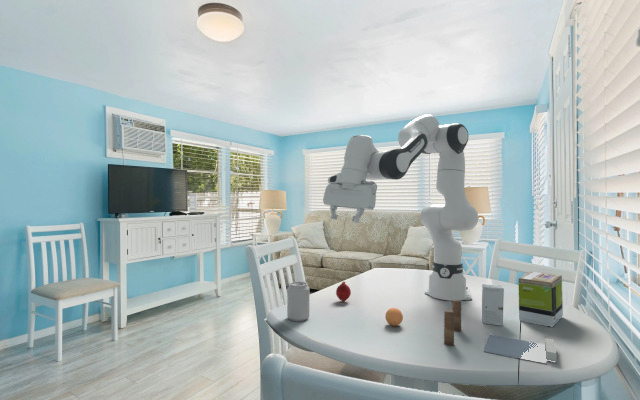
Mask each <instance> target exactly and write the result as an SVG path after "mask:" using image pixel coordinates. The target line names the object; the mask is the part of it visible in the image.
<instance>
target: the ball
mask: <svg viewBox="0 0 640 400" xmlns="http://www.w3.org/2000/svg"><path fill="white" fill-rule="evenodd" d="M403 319H404V316H403V313H402V311H401V310H400V309H399V308H398V307H397V308H396V307H391V308H389V309H387V311H386V312H385V320H386V322H387V323H388V324H389V325H390V326H392V327H397V326H399V325H400V324H402V323H403Z"/></svg>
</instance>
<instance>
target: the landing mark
mask: <svg viewBox="0 0 640 400" xmlns="http://www.w3.org/2000/svg"><path fill="white" fill-rule="evenodd" d="M529 341H530V340H529ZM529 341H528V340H525V339H523V340H522V339H517V338H511V337H507V336H501V335H495V334H490V333H489V334H488V336H487V340H486V344H485V347H484V351H483V352H484V353H488V354H493V355H497V356H502V355H503V356H502V357H507V356H508V357H507V358H511V357H514V358H513V359H516V358H519V357H520V358H521V357H522V356H521V355H523V352H524V353H525V352H526V351H527V350H528V352H529V348H530V349H531V347H533V346H534V345H535V344H536V343H537V342H536V343H534V341H532V342H533V343H532V344H531V343H529ZM530 344H531V345H530ZM533 344H534V345H533ZM529 345H530V346H531V347H530V346H529ZM532 345H533V346H532ZM536 345H537V344H536ZM536 345H535V346H536ZM535 346H534V347H535ZM534 347H533V348H534ZM537 347H538V346H537Z"/></svg>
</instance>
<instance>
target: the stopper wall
mask: <svg viewBox="0 0 640 400" xmlns="http://www.w3.org/2000/svg"><path fill="white" fill-rule="evenodd" d="M544 344H545V351H546V359H547V360H551V361H556V362H557V350H556V345H555V341H554V339H553V338H547V337H546V338H544Z"/></svg>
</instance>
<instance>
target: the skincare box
mask: <svg viewBox="0 0 640 400" xmlns="http://www.w3.org/2000/svg"><path fill="white" fill-rule="evenodd" d="M481 286H482V287H481V288H482V289H481V292H482V293H481V321H482V324H484V325H493V326H494V325H495V326H501V327H502V326H503V325H504V295H505V293H504V292H505V288H504V287H503V286H502V285H498V284H497V285H495V284H484V283H482V285H481Z"/></svg>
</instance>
